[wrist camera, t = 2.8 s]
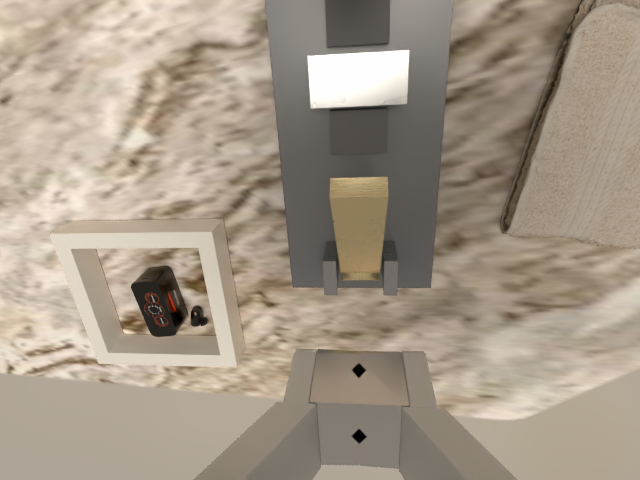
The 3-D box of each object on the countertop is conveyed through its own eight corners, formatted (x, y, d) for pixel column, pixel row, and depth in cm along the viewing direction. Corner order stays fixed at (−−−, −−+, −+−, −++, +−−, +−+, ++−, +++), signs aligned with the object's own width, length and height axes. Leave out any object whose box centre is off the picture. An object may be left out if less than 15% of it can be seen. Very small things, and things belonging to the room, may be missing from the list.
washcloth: (750, 5, 26) (797, -1, 23) (632, 244, 34) (656, 261, 31) (569, -13, 27) (594, -21, 24) (494, 227, 34) (506, 242, 32)
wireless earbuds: (169, 323, 42) (155, 344, 39) (146, 266, 39) (129, 283, 36) (209, 320, 41) (198, 340, 38) (189, 261, 38) (175, 278, 35)
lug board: (462, -259, 22) (500, -375, 16) (425, 270, 36) (438, 311, 30) (253, -230, 23) (217, -327, 17) (297, 270, 37) (286, 310, 32)
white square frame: (223, 218, 36) (211, 231, 33) (245, 347, 42) (237, 367, 39) (71, 220, 37) (49, 233, 35) (114, 344, 44) (98, 363, 41)
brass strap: (387, 171, 20) (388, 201, 20) (378, 262, 32) (378, 283, 31) (330, 173, 21) (329, 202, 20) (342, 262, 32) (341, 283, 32)
